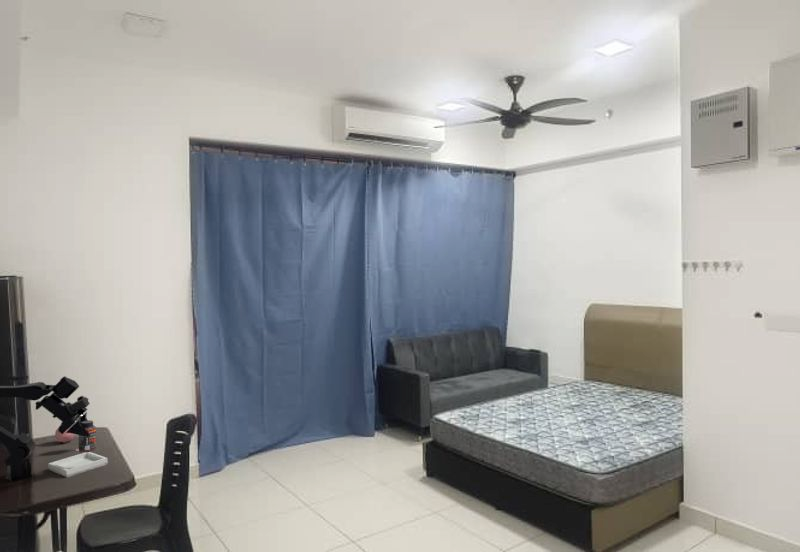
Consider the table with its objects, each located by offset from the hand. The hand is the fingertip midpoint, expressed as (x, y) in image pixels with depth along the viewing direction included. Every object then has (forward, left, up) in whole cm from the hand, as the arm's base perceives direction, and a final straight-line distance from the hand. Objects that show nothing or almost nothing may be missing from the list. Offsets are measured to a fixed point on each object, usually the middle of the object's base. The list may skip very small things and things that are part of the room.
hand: (91, 433), depth 210 cm
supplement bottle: (-1, +1, -7) cm, 7 cm away
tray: (-2, +6, -14) cm, 15 cm away
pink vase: (+10, +44, -14) cm, 47 cm away
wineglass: (+9, +27, -14) cm, 32 cm away
